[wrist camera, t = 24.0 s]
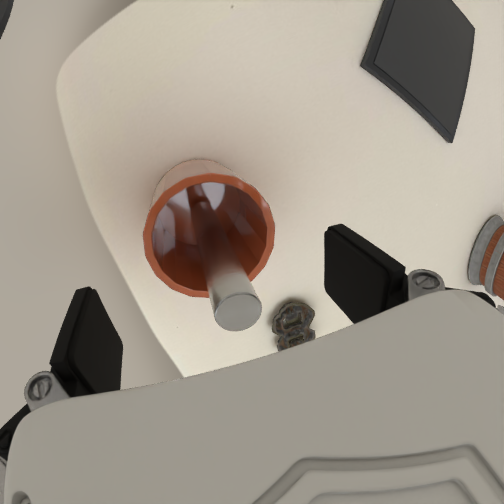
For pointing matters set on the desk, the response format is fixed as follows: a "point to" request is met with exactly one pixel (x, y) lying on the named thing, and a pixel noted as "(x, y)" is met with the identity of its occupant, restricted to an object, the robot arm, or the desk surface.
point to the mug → (489, 258)
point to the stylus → (224, 273)
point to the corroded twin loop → (295, 330)
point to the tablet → (424, 57)
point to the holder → (182, 231)
